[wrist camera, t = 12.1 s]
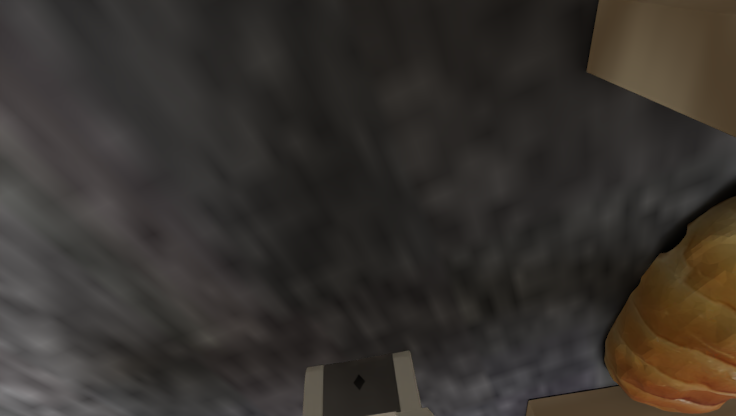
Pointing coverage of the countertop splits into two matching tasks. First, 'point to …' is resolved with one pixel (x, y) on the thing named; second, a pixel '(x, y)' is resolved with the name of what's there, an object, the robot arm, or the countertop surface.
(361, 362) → the robot arm
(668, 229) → the countertop surface
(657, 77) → the wooden wall rack
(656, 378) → the pastry
